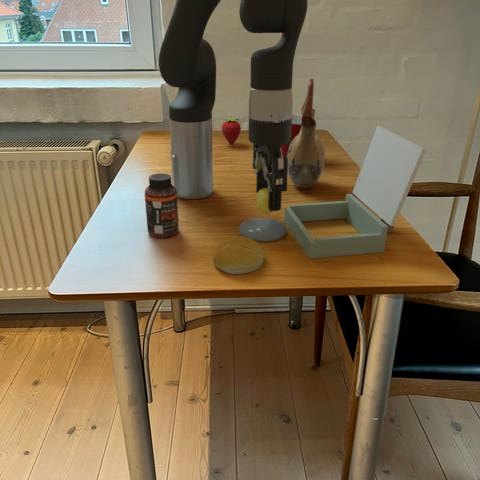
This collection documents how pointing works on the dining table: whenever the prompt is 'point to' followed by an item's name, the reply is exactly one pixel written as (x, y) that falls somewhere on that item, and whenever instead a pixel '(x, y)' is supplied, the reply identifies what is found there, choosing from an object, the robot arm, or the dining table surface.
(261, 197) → the yellow oblong lump
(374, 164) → the lid
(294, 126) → the plastic cup
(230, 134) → the strawberry
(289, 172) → the ceramic vessel
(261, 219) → the saucer
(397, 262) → the dining table surface
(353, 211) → the frame
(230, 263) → the bread roll
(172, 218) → the supplement bottle
